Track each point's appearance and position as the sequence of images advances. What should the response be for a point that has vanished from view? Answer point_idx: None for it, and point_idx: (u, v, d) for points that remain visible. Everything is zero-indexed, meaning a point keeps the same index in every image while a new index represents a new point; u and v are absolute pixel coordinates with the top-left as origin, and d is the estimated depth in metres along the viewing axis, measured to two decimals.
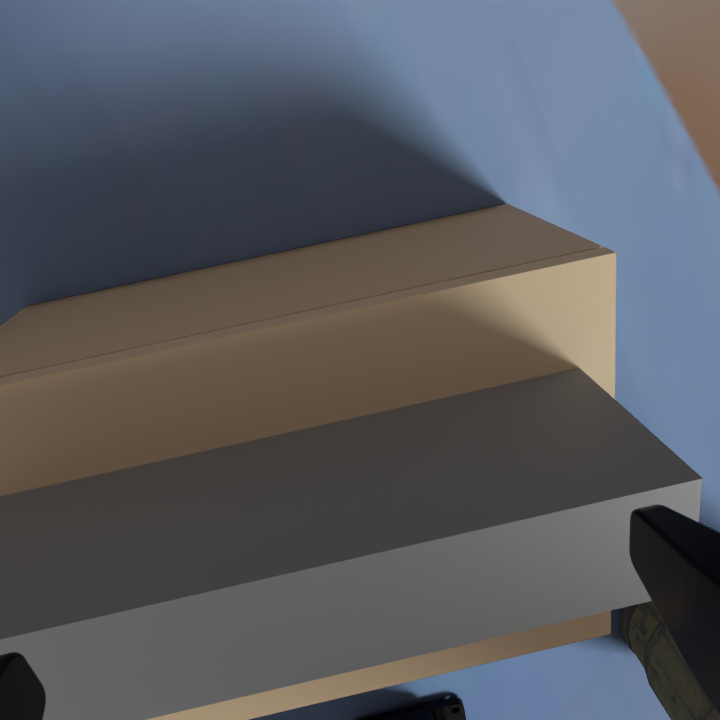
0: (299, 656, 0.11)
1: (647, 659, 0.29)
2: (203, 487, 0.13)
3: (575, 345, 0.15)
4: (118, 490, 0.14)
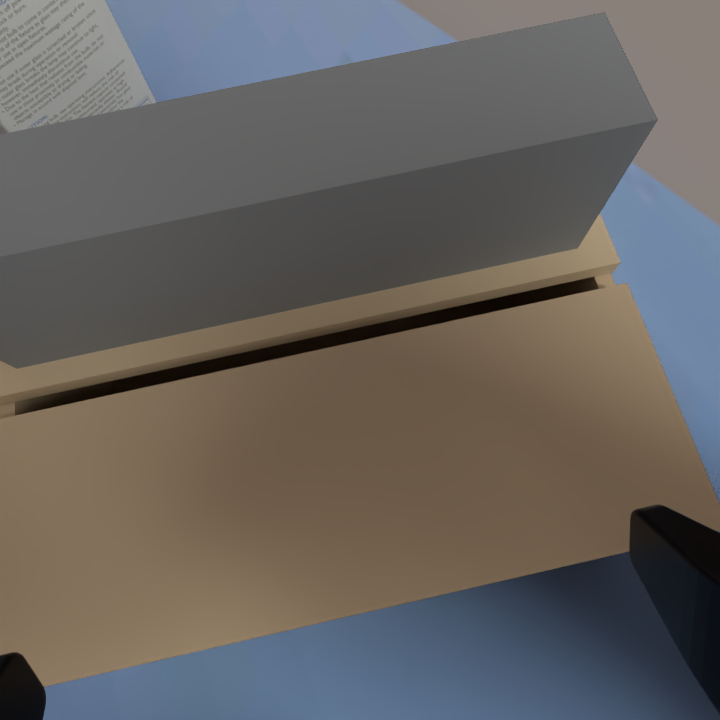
0: (243, 173, 0.11)
1: None
2: None
3: None
4: None
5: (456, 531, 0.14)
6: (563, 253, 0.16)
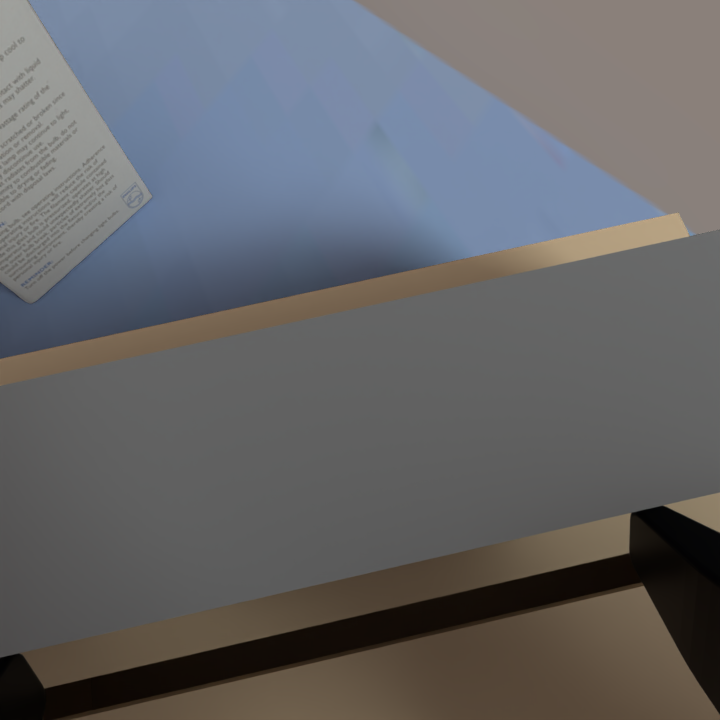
0: (267, 517, 0.06)
1: None
2: None
3: None
4: None
5: None
6: None
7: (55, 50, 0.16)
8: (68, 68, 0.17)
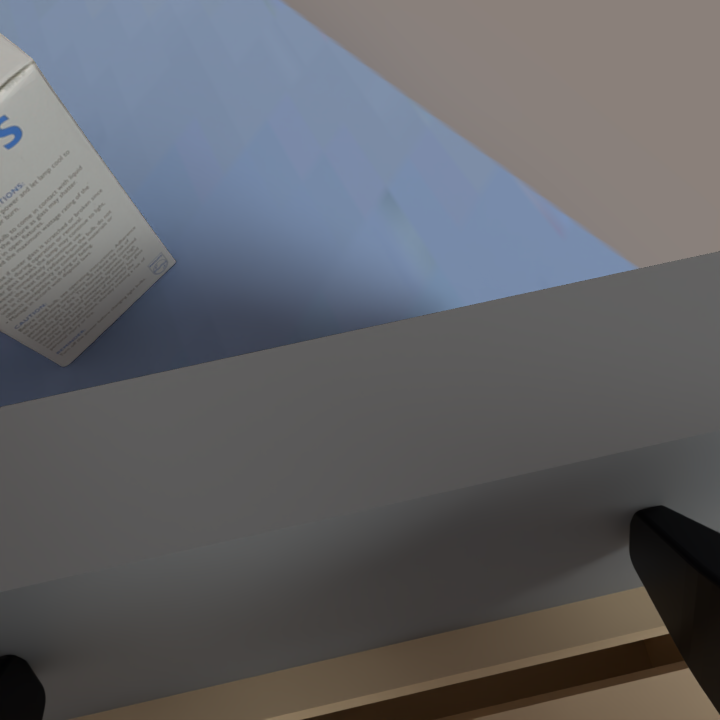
0: (273, 473, 0.07)
1: None
2: None
3: None
4: None
5: None
6: None
7: (95, 155, 0.18)
8: (106, 168, 0.18)
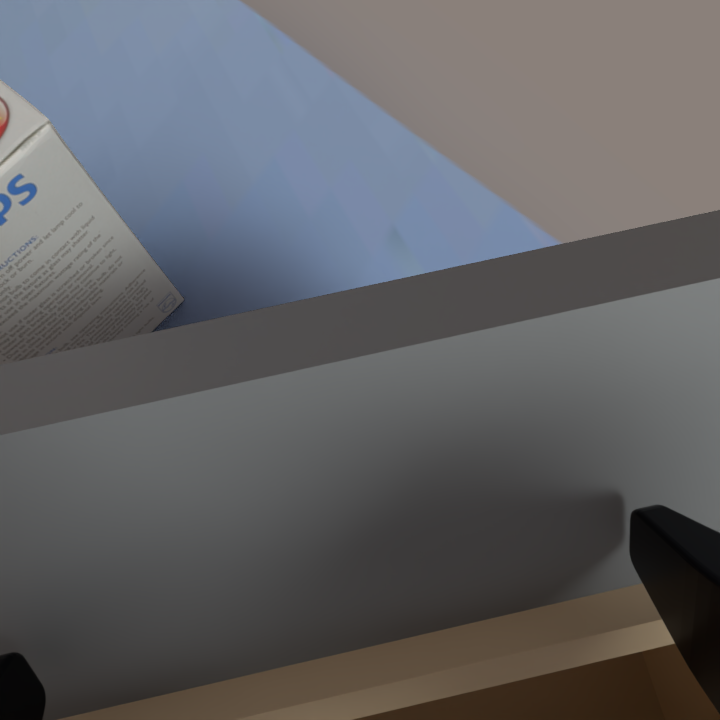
0: (255, 357, 0.08)
1: None
2: None
3: None
4: None
5: None
6: None
7: (107, 205, 0.18)
8: (117, 216, 0.19)
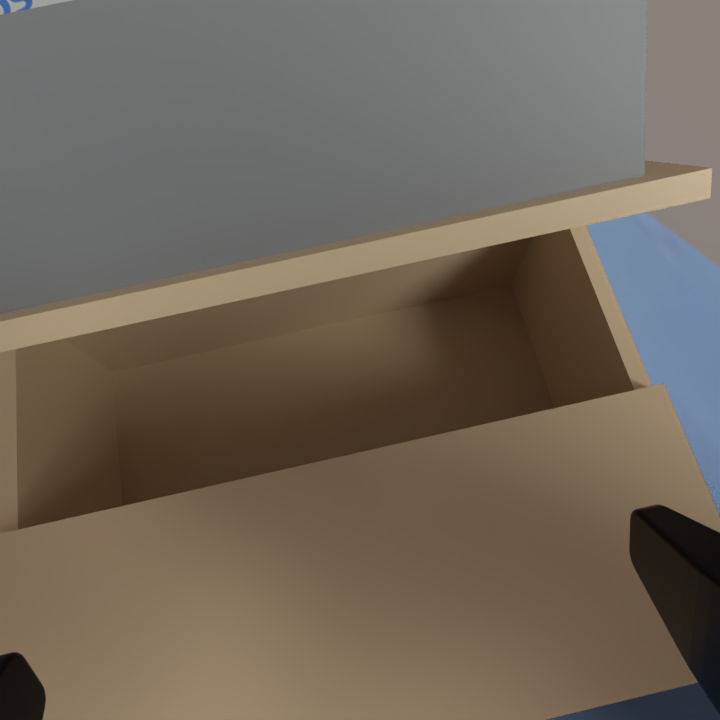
0: None
1: None
2: None
3: None
4: None
5: (488, 664, 0.13)
6: (626, 179, 0.12)
7: None
8: None
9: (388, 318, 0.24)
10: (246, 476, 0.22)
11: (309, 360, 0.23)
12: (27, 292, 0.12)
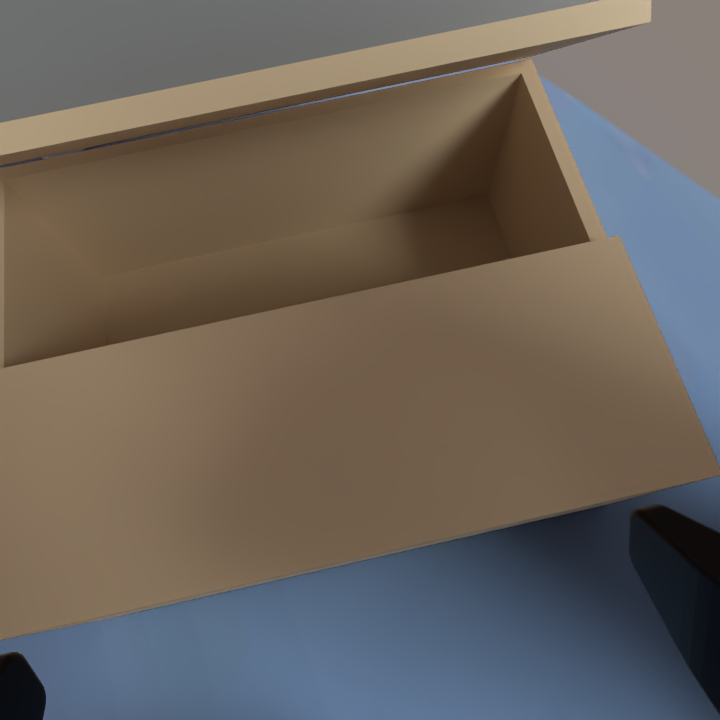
0: None
1: None
2: None
3: None
4: None
5: (446, 479, 0.14)
6: None
7: None
8: None
9: (369, 226, 0.24)
10: None
11: (292, 265, 0.24)
12: (9, 107, 0.12)
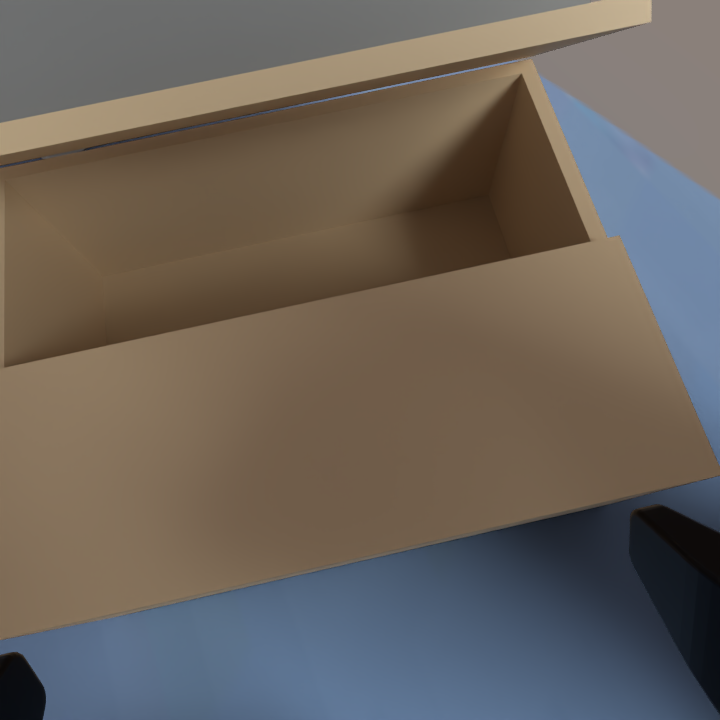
0: None
1: None
2: None
3: None
4: None
5: (446, 479, 0.14)
6: None
7: None
8: None
9: (369, 226, 0.24)
10: None
11: (292, 265, 0.24)
12: (10, 107, 0.12)
